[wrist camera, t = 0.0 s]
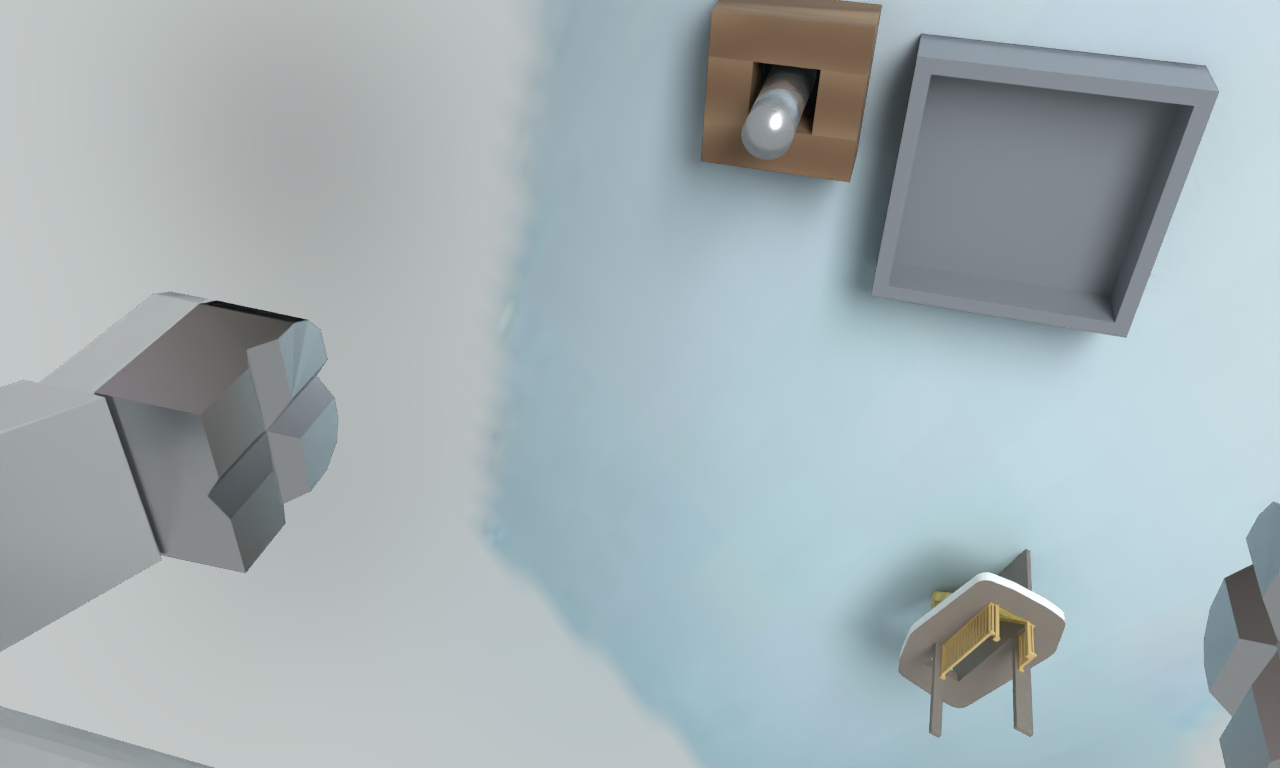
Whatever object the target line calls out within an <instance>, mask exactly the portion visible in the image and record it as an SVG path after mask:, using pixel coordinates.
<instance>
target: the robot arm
mask: <svg viewBox="0 0 1280 768" xmlns="http://www.w3.org/2000/svg"><path fill="white" fill-rule="evenodd" d="M327 360H328V358H327V354H326V350H325V345H324V341H323V337H322V333H321V330H320V329H319V328H318V327H317V326H315V325H314V324H313V323H312V322H310V321H309V320H306V319H302V318H297V317H292V316H288V315H283V314H278V313H273V312H268V311H264V310H259V309H255V308H249V307H245V306H240V305H236V304H231V303H226V302H222V301H211V300H209V299H205V298H200V297H194V296H190V295H185V294H180V293H174V292H165V293H157V294H152V295H151V296H150V297H148V298H147V299H146V300H145V301H143V302H142V303H141V304H139V305H138V306H137V307H136V308H134V309H133V310H132V311H130V312H129V313H128V314H126V315H125V316H124V317H123V318H121V319H120V320H119V321H117V322H116V323H115V324H114V325H112V326H111V327H110V328H108V329H107V330H106V331H105V332H103V333H102V334H101V335H99V336H98V337H97V338H95V339H94V340H93V341H92V342H90V343H89V344H88V345H86V346H85V347H84V348H83V349H82V350H80V351H79V352H77V353H76V354H75V355H74V356H72V357H71V358H70V359H68V360H67V361H66V362H64V363H63V364H62V365H61V366H59V367H58V368H57V369H56V370H54V371H53V372H52V373H50V374H49V375H48V376H46V377H45V378H44V379H43V380H41V381H40V382H39V383H36V382H32V381H26V380H21V381H18V382H15V383H12V384H9V385H6V386H2V387H0V652H1V651H3V650H4V649H6V648H8V647H10V646H12V645H13V644H15V643H17V642H19V641H20V640H22V639H24V638H26V637H27V636H29V635H31V634H33V633H34V632H36V631H38V630H40V629H41V628H43V627H45V626H47V625H49V624H50V623H52V622H54V621H56V620H57V619H59V618H61V617H63V616H64V615H66V614H68V613H70V612H71V611H73V610H75V609H77V608H78V607H80V606H82V605H84V604H85V603H87V602H89V601H90V600H92V599H94V598H96V597H98V596H99V595H101V594H103V593H105V592H106V591H108V590H110V589H112V588H113V587H115V586H117V585H119V584H121V583H122V582H124V581H126V580H128V579H129V578H131V577H133V576H134V575H136V574H138V573H140V572H142V571H143V570H145V569H147V568H149V567H150V566H152V565H154V564H156V563H157V562H159V561H161V559H162V558H161V555H163V556H168V557H172V558H177V559H182V560H186V561H191V562H196V563H200V564H206V565H210V566H215V567H219V568H224V569H228V570H233V571H238V572H243V573H246V572H247V571H248V570H249V568H250V567H251V566H252V565H253V563H254V562H255V561H256V560H257V558H258V557H259V556H260V555H261V553H262V552H263V551H264V550H265V548H266V547H267V546H268V545H269V543H270V542H271V541H272V539H273V538H274V537H275V536H276V535H277V533H278V532H279V531H280V530H281V528H282V527H283V526H284V525H285V514H284V505H283V504H284V503H286V502H288V501H291V500H293V499H295V498H297V497H299V496H301V495H303V494H306V493H308V492H310V491H311V490H312V489H313V488H314V486H315V485H316V484H317V482H318V481H319V480H320V478H321V477H322V476H323V474H324V473H325V472H326V470H327V468H328V465H329V462H330V460H331V457H332V454H333V451H334V449H335V446H336V443H337V430H338V414H337V408H336V402H335V398H334V396H333V395H332V394H331V393H330V391H329V390H328V389H327V388H326V387H325V385H324V384H323V383H322V382H321V380H320V379H319V378H318V377H317V376H316V375H317V374H318V373H319V371H320V370H321V368H322V367H323V365H324V364H325V363H326V361H327ZM1246 541H1247V544H1248V548H1249V552H1250V555H1251V559H1252V562H1253V564H1252V565H1250V566H1248V567H1246V568H1244V569H1242V570H1240V571H1238V572H1236V573H1234V574H1232V575H1230V576H1228V577H1226V578H1224V580H1223V582H1222V584H1221V586H1220V589H1219V591H1218V593H1217V595H1216V597H1215V599H1214V601H1213V603H1212V605H1211V607H1210V611H1209V616H1208V621H1207V626H1206V631H1205V636H1204V667H1205V672H1206V677H1207V682H1208V688H1209V692H1210V693H1211V694H1212V695H1213V696H1214V697H1215V698H1216V699H1217V701H1218V702H1219V703H1220V704H1221V705H1222V706H1223V707H1224V708H1225V709H1226V710H1227V711H1228V712H1229V713H1230V715H1231V716H1232V719H1231V720H1230V722H1229V724H1228V726H1227V727H1226V729H1225V730H1224V732H1223V734H1222V735H1221V737H1220V739H1219V740H1220V745H1221V749H1222V754H1223V758H1224V763H1225V767H1226V768H1280V503H1277V502H1272V503H1271V504H1270V505H1269V506H1268V507H1267V508H1266V509H1265V510H1264V511H1263V512H1262V513H1260V514H1259V516H1258V517H1257V519H1256V521H1255V523H1254V525H1253V526H1252V528H1251V530H1250V532H1249V534H1248V535H1247V537H1246ZM0 768H214V767H210V766H206V765H203V764H200V763H196V762H193V761H189V760H186V759H182V758H178V757H175V756H171V755H168V754H165V753H161V752H158V751H154V750H151V749H147V748H143V747H140V746H137V745H133V744H130V743H127V742H123V741H120V740H116V739H113V738H109V737H106V736H102V735H98V734H95V733H92V732H88V731H85V730H81V729H78V728H74V727H71V726H67V725H64V724H60V723H57V722H54V721H50V720H46V719H43V718H40V717H36V716H33V715H29V714H26V713H22V712H18V711H15V710H12V709H8V708H5V707H1V706H0Z"/></svg>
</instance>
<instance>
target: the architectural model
mask: <svg viewBox="0 0 1280 768" xmlns="http://www.w3.org/2000/svg"><path fill="white" fill-rule="evenodd" d="M931 598H932V610H930V611H929V612H928V613H926V614H925V615H924V616H923V617H921V618H920V619H919V620H917V621H916V622H915V623H914V624H913V625H912V626H911V627H910V629H909V631H908V634H907V636H906V639H905V641H904V644H903V646H902V648H901V651H900V659H899V673H900V674H901V675H902V676H903V677H905V678H906V679H908V680H909V681H911V682H913V683H914V684H916V685H917V686H919V687H920V688H922V689H923V690H925V691H926V692H928V693H929V694H931V706H930V725H929V733H931V734H932V735H934V736H936V737H938V738H939V737H940V736H941V727H942V704H943V702H945V703H946V704H948V705H950V706H952V707H956V708H964V707H967V706H968V705H970V704H972V703H973V702H975V701H977V700H978V699H980V698H982V697H983V696H985V695H987V694H988V693H990V692H992V691H993V690H995V689H997V688H998V687H1000V686H1002V685H1003V684H1005V683H1007V682H1008V681H1010V680H1012V679H1013V710H1014V729H1016V730H1018V731H1020V732H1022V733H1024V734H1026V735H1027V736H1029V737H1031V736H1032V735H1033V717H1032V692H1031V668H1032V667H1033V666H1035V665H1037V664H1038V663H1040V662H1042V661H1043V660H1045V659H1047V658H1048V657H1050V656H1051V655H1052V654H1053V653H1054V652H1055V651H1056V649H1057V646H1058V644H1059V641H1060V638H1061V635H1062V633H1063V630H1064V627H1065V616H1064V613H1063V611H1062V610H1060V609H1059V608H1058V607H1057V606H1055V605H1054V604H1053V603H1051V602H1050V601H1048V600H1047V599H1045V598H1043V597H1041V596H1039V595H1038V594H1036V593H1034V592H1032V585H1031V563H1030V551H1029V550H1027V549H1026V550H1025V551H1024V552H1023V553H1022V554H1021V555H1019V556H1018V557H1017V558H1016V559H1015V560H1014V561H1013V562H1012V563H1011V564H1010V565H1009V566H1007V567H1006V568H1005V569H1004V570H1003V571H1002V572H1001V573H1000V574H999V575H995V574H993V573H988V572H983V573H979V574H977V575H976V576H975V577H973V578H972V579H971V580H969V581H968V582H967V583H965V584H964V585H963V586H962V587H960V588H959V589H958V590H956V591H955V592H954V593H949V592H939V591H935V590H934V591H933V594H932V595H931ZM931 658H933V660H931ZM950 658H951V665H950ZM947 661H948V667H947ZM952 668H953V671H952V670H951V669H952Z"/></svg>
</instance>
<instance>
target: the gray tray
mask: <svg viewBox="0 0 1280 768" xmlns="http://www.w3.org/2000/svg"><path fill="white" fill-rule="evenodd" d="M1218 93H1219V90H1218V88H1217V86H1216V84H1215V82H1214V80H1213V78H1212V76H1211V75H1210V73H1209V71H1208V69H1207V67H1206V66H1203V65H1194V64H1185V63H1176V62H1167V61H1159V60H1150V59H1141V58H1132V57H1123V56H1114V55H1105V54H1097V53H1088V52H1079V51H1070V50H1061V49H1052V48H1043V47H1034V46H1026V45H1017V44H1008V43H999V42H990V41H981V40H972V39H964V38H955V37H946V36H937V35H928V34H921V38H920V43H919V48H918V53H917V59H916V64H915V69H914V74H913V79H912V85H911V90H910V95H909V100H908V105H907V110H906V116H905V121H904V126H903V131H902V136H901V141H900V147H899V152H898V157H897V162H896V167H895V172H894V178H893V183H892V188H891V193H890V198H889V204H888V209H887V214H886V219H885V224H884V229H883V235H882V240H881V245H880V250H879V255H878V260H877V266H876V271H875V277H874V283H873V289H872V294H871V296H874V297H880V298H887V299H893V300H899V301H905V302H911V303H917V304H923V305H929V306H936V307H942V308H948V309H954V310H960V311H966V312H972V313H979V314H985V315H991V316H997V317H1003V318H1009V319H1015V320H1021V321H1028V322H1034V323H1040V324H1046V325H1052V326H1058V327H1064V328H1070V329H1077V330H1083V331H1089V332H1095V333H1101V334H1107V335H1113V336H1119V337H1127V334H1128V332H1129V329H1130V326H1131V324H1132V321H1133V318H1134V316H1135V313H1136V310H1137V308H1138V305H1139V302H1140V300H1141V297H1142V294H1143V292H1144V289H1145V287H1146V284H1147V281H1148V279H1149V276H1150V273H1151V271H1152V268H1153V265H1154V263H1155V260H1156V257H1157V255H1158V252H1159V249H1160V247H1161V244H1162V242H1163V239H1164V236H1165V234H1166V231H1167V228H1168V226H1169V223H1170V220H1171V218H1172V215H1173V212H1174V210H1175V207H1176V204H1177V202H1178V199H1179V197H1180V194H1181V191H1182V189H1183V186H1184V183H1185V181H1186V178H1187V175H1188V173H1189V170H1190V167H1191V165H1192V162H1193V159H1194V157H1195V154H1196V151H1197V149H1198V146H1199V144H1200V141H1201V138H1202V136H1203V133H1204V130H1205V128H1206V125H1207V122H1208V120H1209V117H1210V114H1211V112H1212V109H1213V106H1214V104H1215V101H1216V99H1217V96H1218Z"/></svg>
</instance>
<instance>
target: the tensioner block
mask: <svg viewBox="0 0 1280 768" xmlns="http://www.w3.org/2000/svg"><path fill="white" fill-rule="evenodd" d="M881 8H882V5H877V4H868V3H859V2H849V1H840V0H719V1H718V2H717V4H716V5H715V6H714V8H713V9H712V14H711V28H710V42H709V56H708V70H707V84H706V98H705V112H704V126H703V140H702V154H701V161H704V162H711V163H718V164H725V165H732V166H739V167H746V168H753V169H760V170H767V171H774V172H781V173H788V174H795V175H802V176H809V177H816V178H823V179H830V180H837V181H844V182H850V179H851V175H852V171H853V167H854V163H855V159H856V155H857V151H858V145H859V139H860V133H861V127H862V121H863V115H864V109H865V103H866V97H867V91H868V85H869V79H870V73H871V67H872V61H873V55H874V49H875V43H876V37H877V31H878V25H879V19H880V13H881ZM764 63H768V64H776V65H785V66H793V67H801V68H809V69H817V70H821V72H820V79H819V86H818V93H817V101H816V106H809V105H806V106H805V108H804V111H803V113H802V116H801V119H800V121H799V124H798V126H797V129H796V132H795V134H794V137H793V139H792V142H791V145H790V147H789V149H788V150H787V151H786V152H785V153H784V154H783V155H782V156H780V157H778V158H776V159H771V160H764V159H759V158H757V157H755V156H753V155H752V154H750V153H749V152H748V151H747V149H746V148H745V146H744V144H743V142H742V136H741V133H742V128H743V125H744V123H745V121H746V119H747V117H748V115H749V113H750V111H751V109H752V107H753V105H754V103H755V101H756V99H757V97H758V95H759V93H760V91H761V86H762V76H763V66H764Z"/></svg>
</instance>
